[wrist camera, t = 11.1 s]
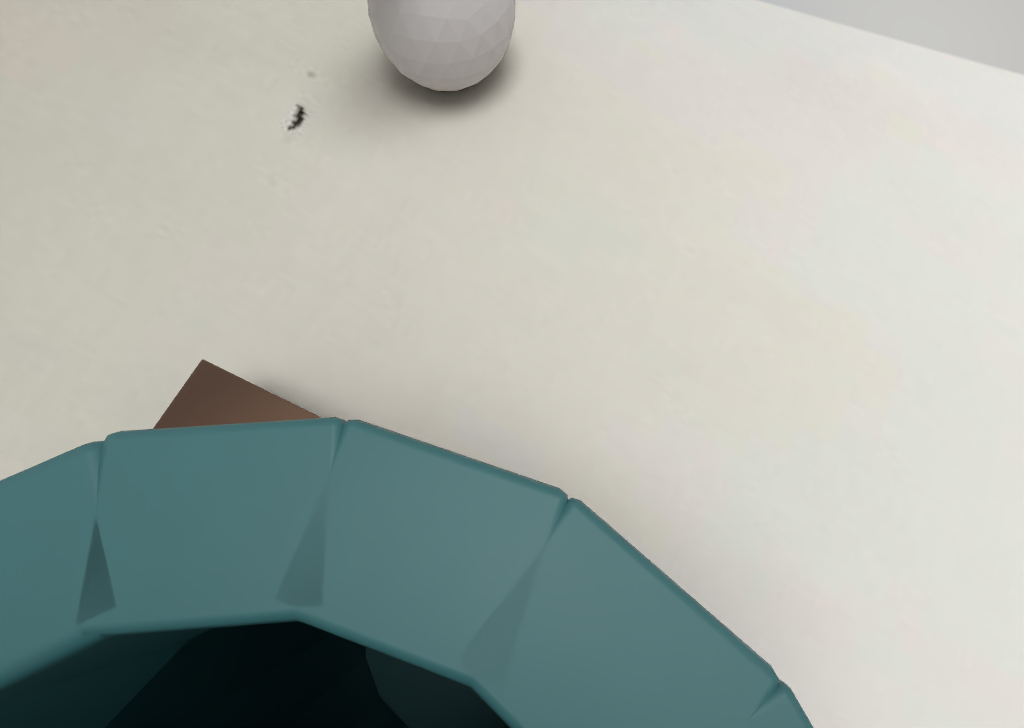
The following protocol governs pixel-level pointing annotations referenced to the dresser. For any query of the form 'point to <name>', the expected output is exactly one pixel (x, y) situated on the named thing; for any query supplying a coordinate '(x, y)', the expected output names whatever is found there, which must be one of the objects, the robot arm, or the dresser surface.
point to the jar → (342, 594)
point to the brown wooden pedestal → (225, 402)
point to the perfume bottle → (443, 38)
